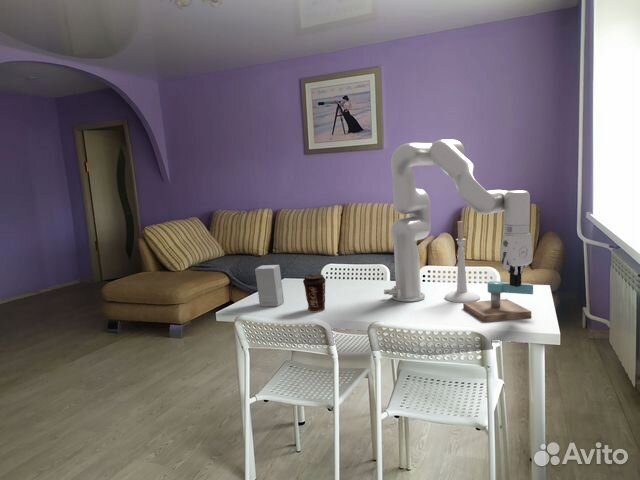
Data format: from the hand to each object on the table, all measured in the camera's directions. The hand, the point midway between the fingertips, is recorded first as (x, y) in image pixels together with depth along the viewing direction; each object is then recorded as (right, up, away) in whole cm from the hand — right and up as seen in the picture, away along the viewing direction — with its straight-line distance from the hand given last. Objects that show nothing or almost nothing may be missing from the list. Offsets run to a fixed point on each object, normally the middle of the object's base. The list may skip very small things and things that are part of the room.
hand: (515, 285), depth 149 cm
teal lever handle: (0, -3, +4) cm, 4 cm away
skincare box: (-83, -11, +35) cm, 91 cm away
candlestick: (-9, -8, +27) cm, 30 cm away
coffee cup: (-65, -12, +24) cm, 70 cm away
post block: (-4, -10, +7) cm, 12 cm away
